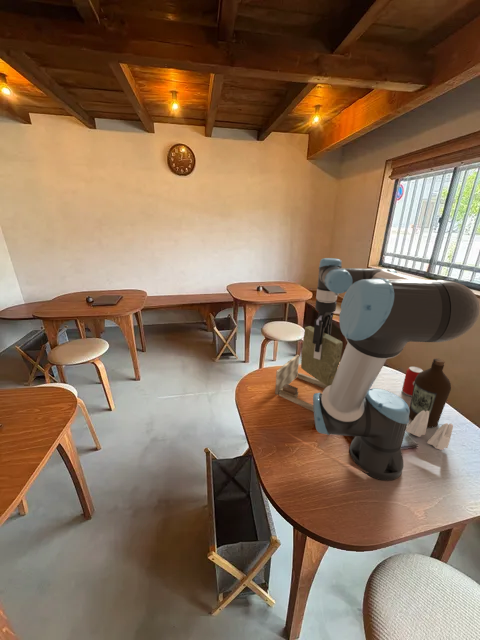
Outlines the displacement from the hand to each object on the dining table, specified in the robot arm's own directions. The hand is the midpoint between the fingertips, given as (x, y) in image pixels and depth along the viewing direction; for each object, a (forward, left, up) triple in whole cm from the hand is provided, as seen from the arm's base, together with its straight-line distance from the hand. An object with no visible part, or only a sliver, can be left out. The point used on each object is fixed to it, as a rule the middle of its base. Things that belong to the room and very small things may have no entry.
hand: (320, 355), depth 108 cm
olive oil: (+11, -38, -19) cm, 44 cm away
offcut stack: (-7, +9, -19) cm, 23 cm away
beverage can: (+27, -32, -19) cm, 46 cm away
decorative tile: (+1, 0, -11) cm, 11 cm away
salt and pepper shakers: (-1, -40, -19) cm, 44 cm away
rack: (0, 0, -19) cm, 19 cm away
